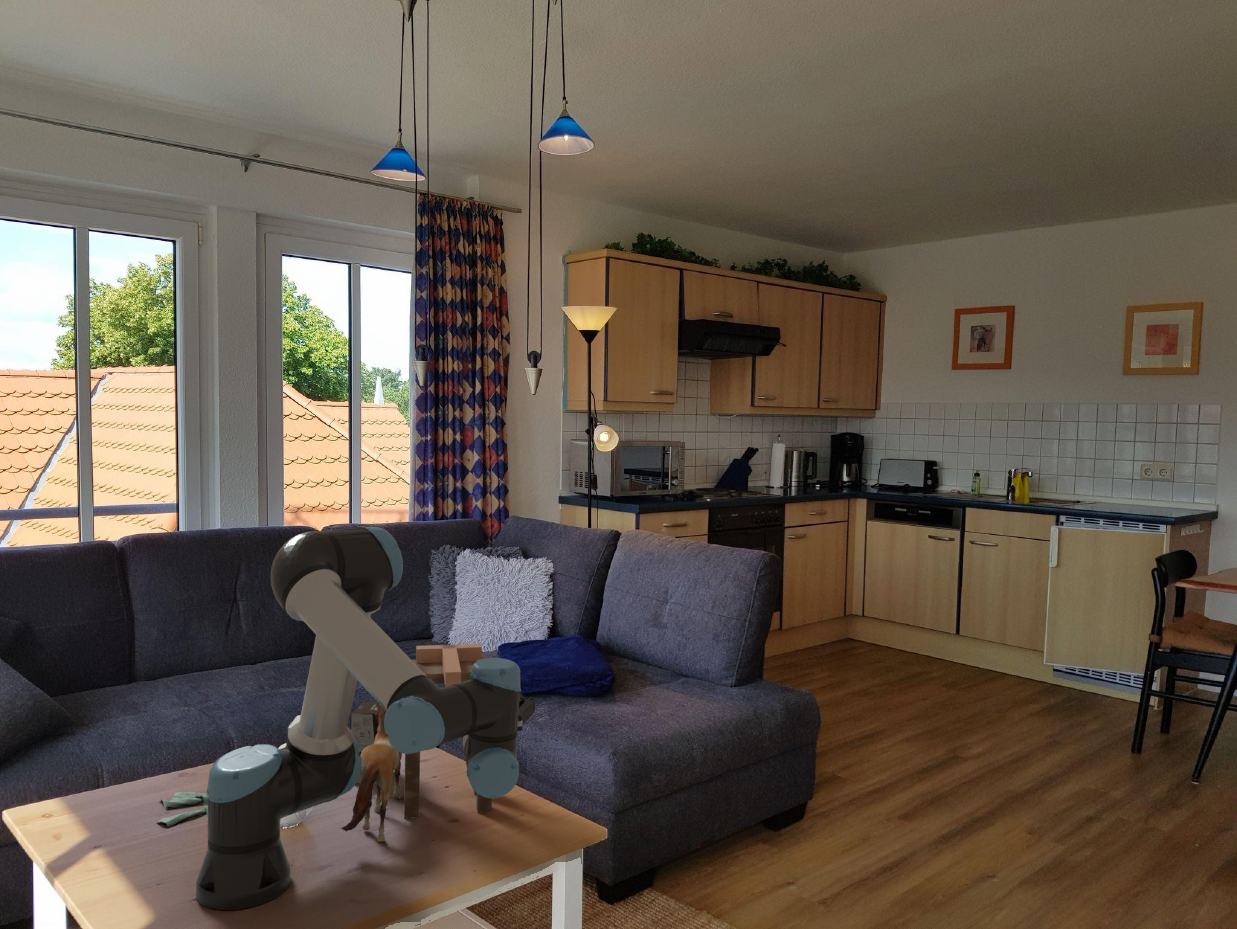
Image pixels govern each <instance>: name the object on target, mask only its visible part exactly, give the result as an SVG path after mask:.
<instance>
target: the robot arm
mask: <svg viewBox="0 0 1237 929" xmlns="http://www.w3.org/2000/svg"><path fill="white" fill-rule="evenodd" d="M402 555H403V554H402V552H401V548H399V545H398V543H397V541H396V539H395V538H394V536H393V535H392V534H391V533H390V532H389V531H388V530H386V529H385V528H382V527H379V526H364V525H363V526H362V525H361V526H360V525H358V526H357V527H348V528H338V529H329V530H328V529H327V530H311V531H306V532H302V533H299V534H297V535H295V536H293V537H291V538H290V539H289V540H287V541H286V542H284V544H283V545H282V546H281V547H280V549H279V550H278V551H277V553H276V555H275V556H274V559H273V561H272V564H271V570H270V584H271V585H270V586H271V589H272V592H273V594H274V597H275V599H276V601H277V602H278V604H279V606H280V607H281V609H282V610H284V612H285V613H286V614H287V615H288V616H289V617H290V618H292V619H293V620H295V621H299V622H304V624H306V625H307V626H308V628H309V629H310V630H311V631H312V632H313V633H314V634H315V638H314V644H313V648H312V649H313V650H312V654H311V659H310V666H309V669H308V670H309V671H308V676H307V682H306V686H305V693H304V696H303V701H302V707H301V712H300V715H301V717H300V722H298V723H296V724H295V725H293V726H292V727H291V728H290V730H289V733H288V732H287V738H286V742H285V743H286V746H285V747H284V748H281V749H279V747H277V746H275V745H272V744H267V743H266V744H265V743H264V744H261V743H260V744H255V745H253V746H251V745H246V746H243V747H239V748H236V749H234V750H231V751H229V752H227V753H225V754H223V755H222V756H220V757H218V759H216V761H214V763H213V764H212V766H211V768H210V770H209V773H208V780H207V788H206V794H207V797H208V822H207V850H206V853H205V856H204V859H203V862H202V864H201V867H200V870H199V873H198V876H197V879H196V884H195V898H196V900H197V902H198V903H199V904H200V905H202V906H204V907H206V908H209V909H214V910H219V911H235V910H237V911H238V910H243V909H247V908H253V907H256V906H260V905H263V904H265V903H268V902H270V901H272V900H274V899H275V898H277V897H279V896H281V895H282V894H283V892H285V890H287V889H288V887H289V885H290V883H291V866H290V862H289V860H288V857H287V854H286V852H285V848H284V845H283V843H282V839H281V820H282V819H283V818H286V817H288V816H291V815H294V814H296V813H299V812H302V811H306V810H307V809H310V808H314V807H316V806H319V805H322V804H325V803H329V802H331V801H334V800H336V799H338V798H340V797H341V796H344V795H345V794H347V793H348V792H350V791H351V790H352V789H353V788H354V786H356V784H357V783H356V782H357V780H358V778H359V775H360V772H361V765H362V758H361V756H359V752H360V748H359V745H358V743H357V741H356V739H355V738H354V736H353V733H352V731H351V728H349V721H350V716H351V714H352V712H351V711H352V707H353V702H354V698H355V692H356V688H357V684H358V683H359V684H360V685H361V686H362V687H363V688H364V689H365V690H366V691H367V692H368V694H370V695H371V697H372V698H373V699H375V702H378V703H379V704H380V705H381V706H382V707H383V709H384V710H385V711H386V714H385V718H384V729H385V733H386V734H388V736H389V742H390V744H391V745H392V747H393V748H394V749H395V750H397V751H398V752H400V753H402V754H412V753H416V752H420V753H421V752H424V751H429V750H433V749H435V748H436V747H438V746H440V745H444V744H445V743H446V744H447V743H449V742H451V741H454V740H457V739H459V738H461V742H462V748H463V754H464V758H465V764H466V777H467V778H468V781H469V784H470V786H471V788H472V790H473V792H474V791H475V792H476V793H478V794H479V795H481V796H483V797H486V798H492V799H498V798H501V797H503V796H507V794H508V793H510V792H511V791H512V790H514V787H515V786H516V785H517V783H518V780H519V774H520V768H519V767H520V766H519V765H520V762H519V761H518V758H517V750H518V749H517V748H518V747H517V746H518V744H517V743H518V732H521V731H523V726H524V724H525V723H526V722H527V721H528V720H529V718H531V717H532V716H533V714H534V713H535V712H536V710H535V709H536V706H535V705H536V702H535V700H536V698H534V697H533V696H532V697H529V698H528V697H527V699H525V697H524V696H523V694H522V693H521V692H522V689H521V668H520V666H519V665H518V663H516V662H515V661H512V660H510V659H507V658H501V657H490V658H485V659H481V660H478V661H476V663H474V664H473V666H472V670H471V674H470V680H468V681H464V682H461V683H457V684H454V685H451V686H447V687H445V686H443V687H439V686H437V683H434V682H433V681H432V680H431V679H429V678H428V677H427V676H426V675H425V673H424V672H423V671H422V670H421V669H420V668H419V667H418V666H417V665H416V664H415V663H414V662H413V661H412V660H413V659H411V658H410V657H409V655H407V654H406V653H405V652H404V650H402V648H400V646H398V644H397V643H396V642H395V641H394V640H393V639H391V637H390V636H389V635H388V634H387V633H386V632H385V631H384V630H383V628H381V627H380V625H378V624H377V622H375V621H374V620H373V619H372V618H371V615H372V614H374V613H376V612H377V611H379V610H380V609H381V607H382V604H383V599H384V595H385V591H391V590H392V589H393V588H395V587H396V586H397V585H398V584H399V583H400V582H401V580H402V577H403V570H404V562H403V561H404V560H403V556H402ZM357 682H358V683H357Z"/></svg>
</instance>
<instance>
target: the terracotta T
mask: <svg viewBox="0 0 1237 929" xmlns="http://www.w3.org/2000/svg"><path fill="white" fill-rule="evenodd" d="M482 653H483V646H482V643H469V644H468V643H467V644H465V643H463V644H462V643H461V644H435V645H416V649H415V656H416V657H415V659H416V663H432V662H442V665H443V673H444V681H445V683H444V685H445V686H444V687H447V686H451V685H454V684H457V683H461V669H460V664H459V662H460V661H478V660H481V659H482V657H483V654H482Z"/></svg>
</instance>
